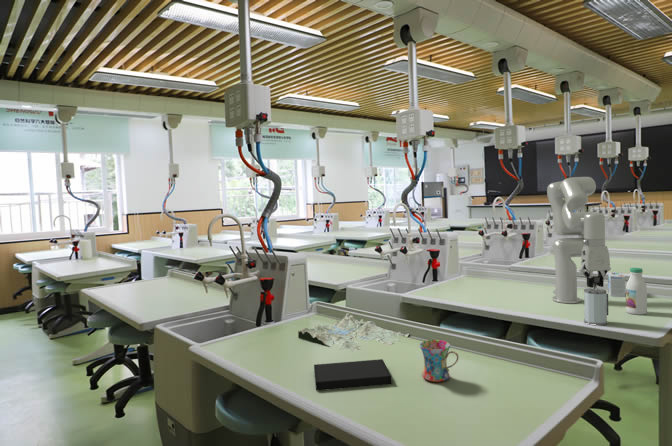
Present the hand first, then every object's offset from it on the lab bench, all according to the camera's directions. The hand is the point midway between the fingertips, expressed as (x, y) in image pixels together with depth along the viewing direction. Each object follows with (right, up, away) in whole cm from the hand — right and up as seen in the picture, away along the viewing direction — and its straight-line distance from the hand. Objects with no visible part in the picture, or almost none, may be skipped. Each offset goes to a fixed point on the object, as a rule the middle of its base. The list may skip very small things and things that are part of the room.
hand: (595, 286), depth 182 cm
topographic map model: (-101, -21, -2) cm, 103 cm away
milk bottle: (+25, -14, +12) cm, 31 cm away
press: (+1, -15, +1) cm, 15 cm away
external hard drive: (-103, -24, -43) cm, 114 cm away
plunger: (+1, -11, +1) cm, 11 cm away
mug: (-76, -22, -47) cm, 92 cm away
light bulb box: (+38, -11, +46) cm, 61 cm away
